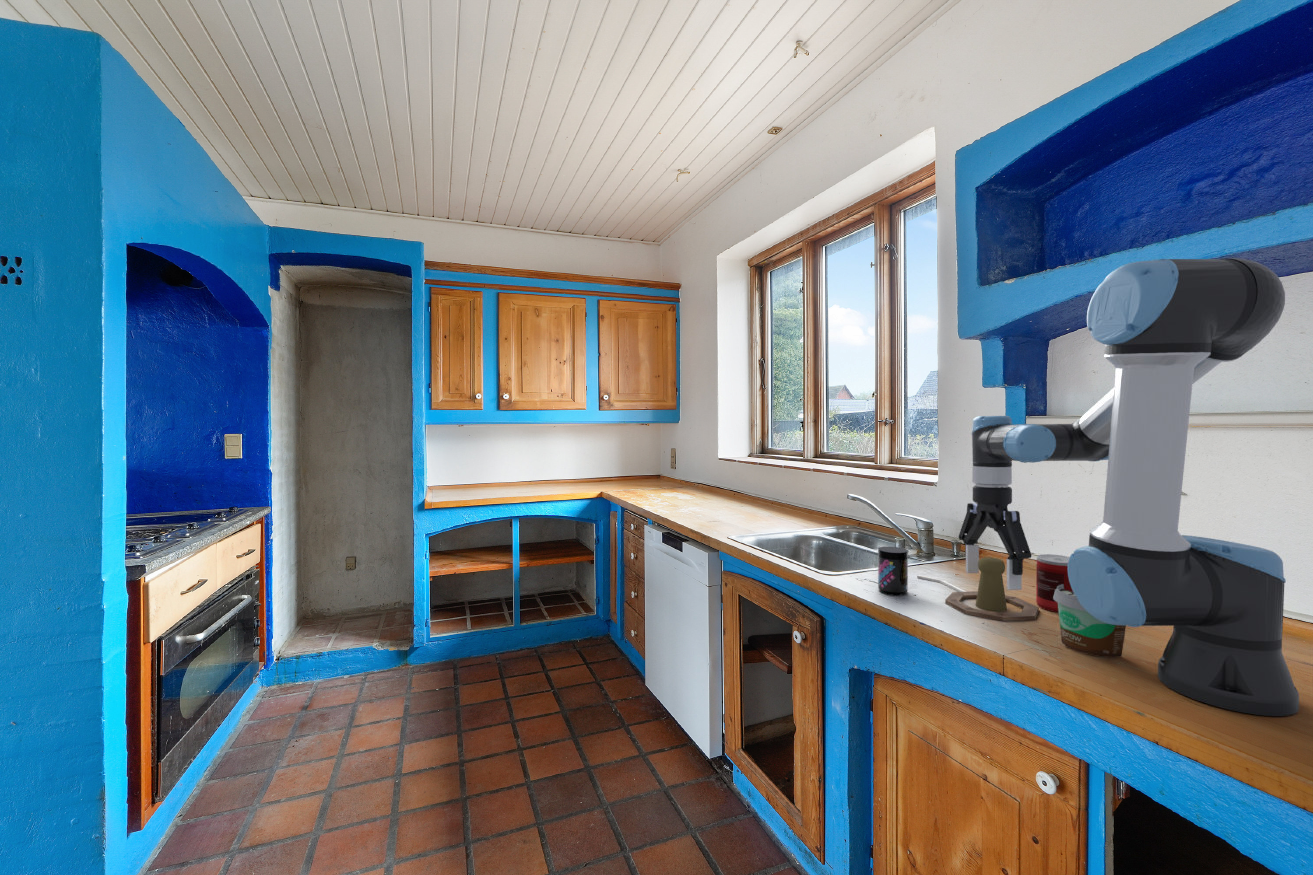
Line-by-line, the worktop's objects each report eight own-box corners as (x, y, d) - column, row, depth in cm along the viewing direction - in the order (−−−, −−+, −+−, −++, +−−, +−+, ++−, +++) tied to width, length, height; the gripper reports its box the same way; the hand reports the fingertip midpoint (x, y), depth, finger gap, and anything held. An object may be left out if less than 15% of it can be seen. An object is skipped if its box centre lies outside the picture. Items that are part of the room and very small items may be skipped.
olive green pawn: (1013, 611, 122) (1013, 561, 121) (985, 611, 122) (985, 561, 121) (996, 602, 128) (997, 554, 127) (970, 602, 128) (970, 554, 127)
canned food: (1073, 604, 126) (1073, 555, 126) (1083, 615, 119) (1083, 564, 118) (1032, 599, 129) (1033, 552, 129) (1039, 610, 122) (1040, 560, 122)
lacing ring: (1056, 618, 117) (1057, 614, 117) (980, 622, 116) (980, 618, 116) (1000, 593, 134) (1000, 590, 134) (932, 596, 132) (932, 592, 132)
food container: (1036, 638, 107) (1037, 586, 106) (1059, 634, 109) (1060, 583, 108) (1107, 665, 95) (1108, 607, 95) (1131, 659, 97) (1132, 602, 97)
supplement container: (877, 586, 141) (877, 545, 140) (906, 589, 138) (907, 547, 138) (878, 594, 134) (878, 551, 134) (908, 597, 132) (909, 553, 132)
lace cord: (967, 594, 134) (967, 591, 134) (950, 594, 133) (950, 592, 133) (931, 576, 149) (931, 574, 149) (916, 577, 148) (916, 575, 148)
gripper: (1052, 491, 112) (1052, 596, 112) (971, 479, 137) (971, 566, 137) (1016, 492, 111) (1016, 598, 111) (942, 480, 136) (942, 567, 136)
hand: (992, 580), depth 124 cm, fingers open, 13 cm apart
